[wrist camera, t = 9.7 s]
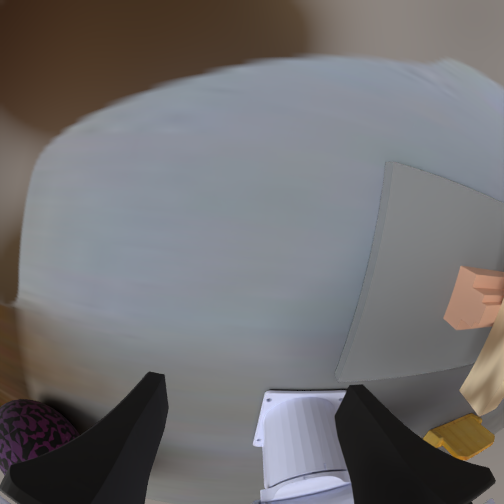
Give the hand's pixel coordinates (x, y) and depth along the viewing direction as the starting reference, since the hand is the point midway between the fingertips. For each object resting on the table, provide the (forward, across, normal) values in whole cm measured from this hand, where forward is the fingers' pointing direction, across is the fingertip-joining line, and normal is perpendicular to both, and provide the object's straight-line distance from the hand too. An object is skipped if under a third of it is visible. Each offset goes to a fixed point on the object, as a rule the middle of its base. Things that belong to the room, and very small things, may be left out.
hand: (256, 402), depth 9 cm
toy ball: (+10, +25, +25) cm, 36 cm away
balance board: (+10, -18, -1) cm, 21 cm away
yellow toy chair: (+10, -34, +24) cm, 43 cm away
